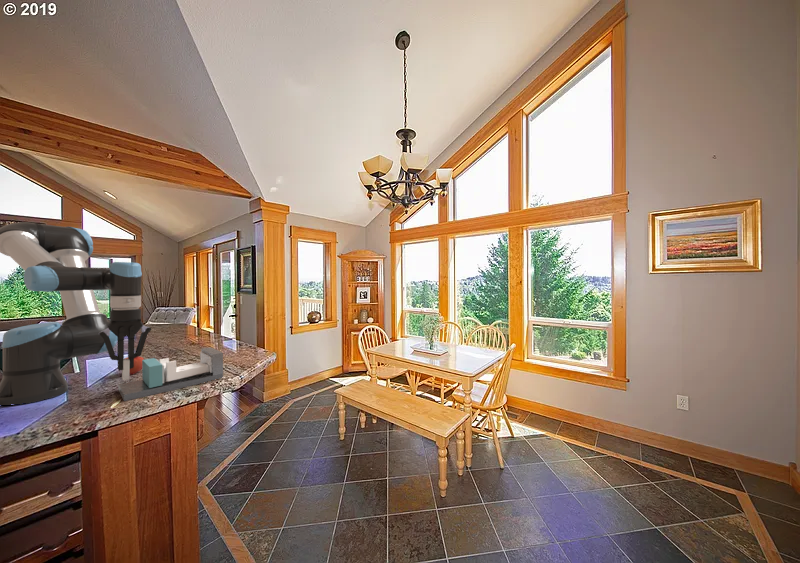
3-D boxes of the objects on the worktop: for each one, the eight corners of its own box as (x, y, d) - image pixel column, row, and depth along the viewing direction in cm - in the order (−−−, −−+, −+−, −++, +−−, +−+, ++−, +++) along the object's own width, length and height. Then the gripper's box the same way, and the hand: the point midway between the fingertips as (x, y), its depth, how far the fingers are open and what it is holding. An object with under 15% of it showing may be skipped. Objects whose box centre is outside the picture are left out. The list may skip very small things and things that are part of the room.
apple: (120, 373, 119) (120, 353, 119) (144, 369, 124) (144, 351, 124) (119, 378, 114) (119, 357, 114) (144, 374, 119) (144, 354, 119)
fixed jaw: (199, 368, 120) (199, 348, 120) (210, 366, 123) (210, 347, 123) (211, 376, 110) (211, 354, 110) (223, 373, 113) (222, 352, 113)
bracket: (167, 384, 102) (167, 362, 101) (159, 380, 105) (159, 359, 105) (208, 374, 113) (208, 354, 112) (199, 371, 116) (199, 352, 116)
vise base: (118, 390, 101) (118, 384, 101) (210, 371, 123) (210, 366, 123) (124, 401, 92) (124, 394, 92) (223, 378, 113) (223, 373, 113)
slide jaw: (142, 379, 106) (142, 359, 106) (156, 376, 109) (156, 357, 109) (149, 388, 97) (149, 366, 97) (164, 384, 100) (164, 364, 100)
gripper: (99, 311, 90) (99, 387, 91) (154, 308, 101) (153, 376, 101) (96, 309, 95) (96, 381, 96) (148, 306, 105) (148, 371, 106)
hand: (125, 378), depth 98 cm, fingers closed
